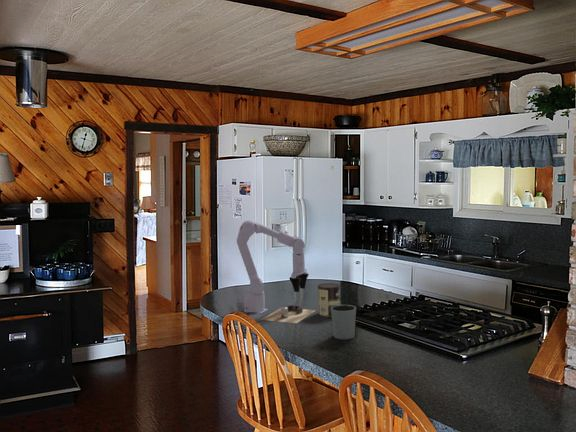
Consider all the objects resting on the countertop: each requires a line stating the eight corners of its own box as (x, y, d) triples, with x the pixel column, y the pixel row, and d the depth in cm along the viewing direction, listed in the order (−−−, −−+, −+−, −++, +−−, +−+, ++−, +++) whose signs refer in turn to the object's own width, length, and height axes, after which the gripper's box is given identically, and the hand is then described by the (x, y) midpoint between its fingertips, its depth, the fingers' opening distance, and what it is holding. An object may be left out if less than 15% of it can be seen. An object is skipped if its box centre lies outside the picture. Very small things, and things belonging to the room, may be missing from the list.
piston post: (280, 318, 262) (279, 308, 262) (282, 316, 265) (282, 306, 265) (286, 318, 261) (286, 308, 260) (289, 316, 264) (289, 307, 263)
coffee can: (341, 312, 272) (340, 283, 271) (338, 318, 262) (338, 287, 261) (319, 311, 274) (319, 282, 273) (316, 317, 264) (316, 287, 263)
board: (260, 320, 260) (260, 319, 260) (282, 308, 282) (281, 307, 282) (296, 324, 253) (296, 323, 253) (316, 311, 275) (316, 310, 275)
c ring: (288, 309, 278) (288, 304, 278) (305, 310, 274) (305, 305, 274) (282, 312, 272) (282, 307, 272) (300, 314, 268) (300, 309, 268)
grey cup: (358, 333, 237) (358, 305, 236) (353, 341, 227) (353, 311, 226) (334, 332, 240) (334, 303, 239) (328, 339, 231) (328, 309, 230)
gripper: (300, 265, 269) (301, 293, 271) (311, 260, 283) (312, 287, 284) (286, 264, 272) (288, 293, 273) (298, 259, 285) (299, 286, 287)
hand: (299, 290), depth 279 cm, fingers open, 7 cm apart
